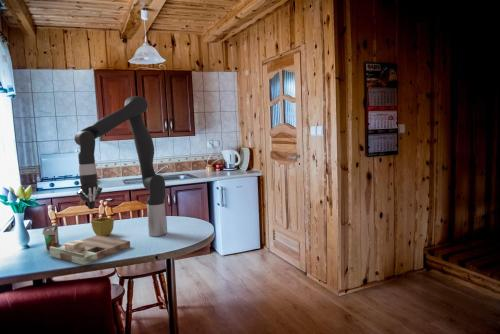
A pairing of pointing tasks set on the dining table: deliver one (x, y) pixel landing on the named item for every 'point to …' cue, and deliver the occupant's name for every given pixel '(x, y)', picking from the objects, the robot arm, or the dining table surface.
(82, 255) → the wooden puzzle tray
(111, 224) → the flower pot
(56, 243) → the food container
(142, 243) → the dining table surface
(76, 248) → the block
